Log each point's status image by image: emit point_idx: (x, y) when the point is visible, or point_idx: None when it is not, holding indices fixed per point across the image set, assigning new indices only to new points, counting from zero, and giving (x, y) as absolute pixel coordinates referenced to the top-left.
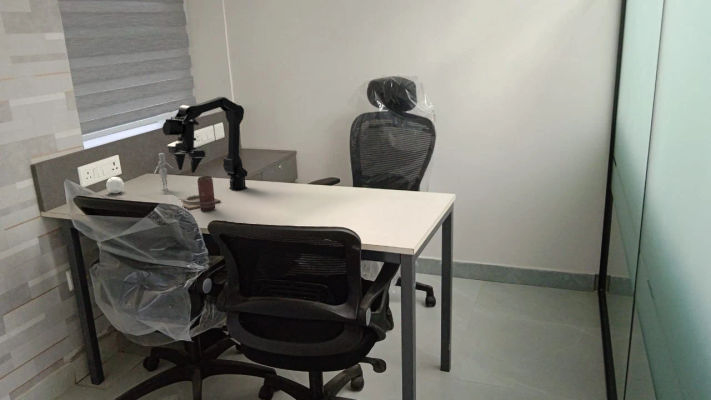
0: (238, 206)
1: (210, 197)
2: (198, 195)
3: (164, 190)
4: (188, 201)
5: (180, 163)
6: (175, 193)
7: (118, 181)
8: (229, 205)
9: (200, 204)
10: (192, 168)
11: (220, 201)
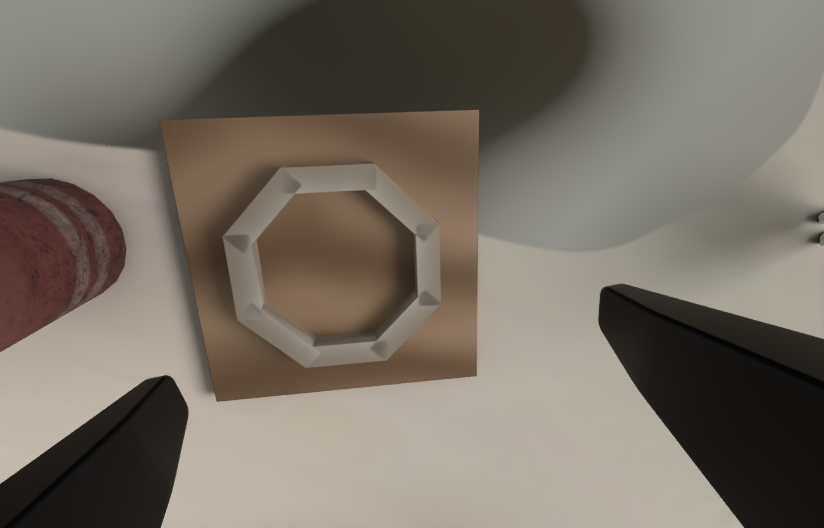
0: (22, 441)
1: None
2: (401, 318)
3: (819, 215)
4: (282, 176)
5: (709, 400)
6: (688, 245)
7: None
8: (91, 406)
9: (1, 183)
10: (40, 458)
11: (218, 395)
